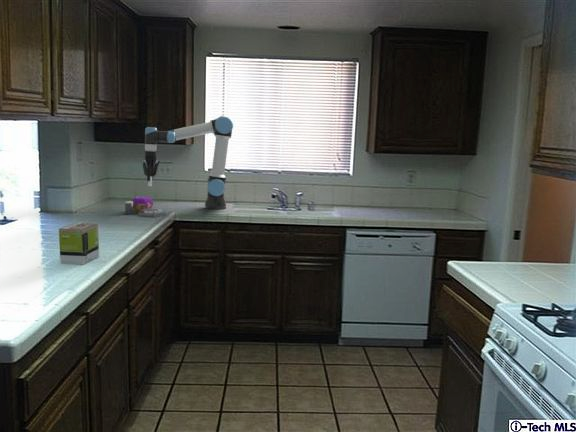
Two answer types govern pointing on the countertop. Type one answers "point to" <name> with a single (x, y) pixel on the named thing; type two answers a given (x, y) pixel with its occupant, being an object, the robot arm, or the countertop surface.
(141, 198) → the toy camera
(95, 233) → the tea box
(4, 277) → the countertop surface
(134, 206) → the stop bar
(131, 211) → the lens
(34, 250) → the countertop surface
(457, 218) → the countertop surface
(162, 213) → the mount
